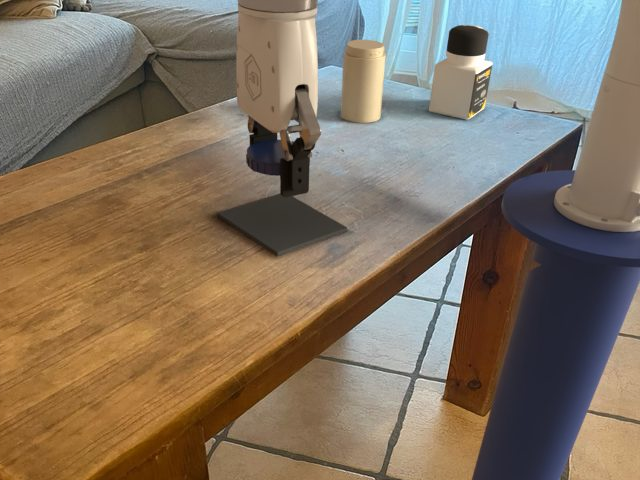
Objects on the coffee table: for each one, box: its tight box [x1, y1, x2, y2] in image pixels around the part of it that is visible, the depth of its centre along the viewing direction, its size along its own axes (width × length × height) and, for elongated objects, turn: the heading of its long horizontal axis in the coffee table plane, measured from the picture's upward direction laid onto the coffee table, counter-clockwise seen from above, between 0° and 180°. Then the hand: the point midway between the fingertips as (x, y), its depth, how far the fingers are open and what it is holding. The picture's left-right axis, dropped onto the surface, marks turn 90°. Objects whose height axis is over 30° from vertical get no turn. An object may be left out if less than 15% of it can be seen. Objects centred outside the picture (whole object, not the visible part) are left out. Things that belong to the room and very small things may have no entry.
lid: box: [245, 139, 311, 177], centre depth 72 cm, size 7×7×1 cm
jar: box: [340, 39, 387, 124], centre depth 102 cm, size 6×6×10 cm
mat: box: [216, 193, 348, 257], centre depth 77 cm, size 12×10×1 cm
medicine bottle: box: [428, 24, 493, 121], centre depth 105 cm, size 7×7×12 cm
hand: (278, 180), depth 74 cm, fingers closed on lid, 6 cm apart
